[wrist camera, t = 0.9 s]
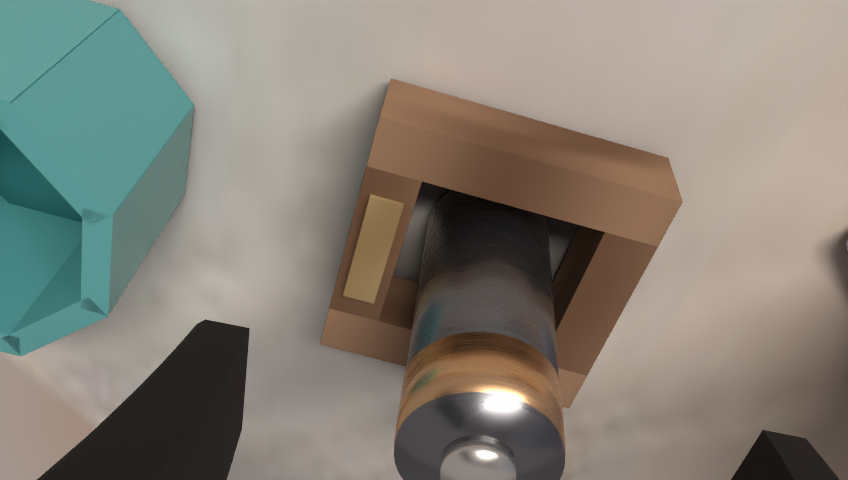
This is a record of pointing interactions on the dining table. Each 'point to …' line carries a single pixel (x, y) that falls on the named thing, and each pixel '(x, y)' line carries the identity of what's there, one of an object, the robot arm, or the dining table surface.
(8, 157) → the cup
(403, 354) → the block
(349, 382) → the dining table surface
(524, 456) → the cell
